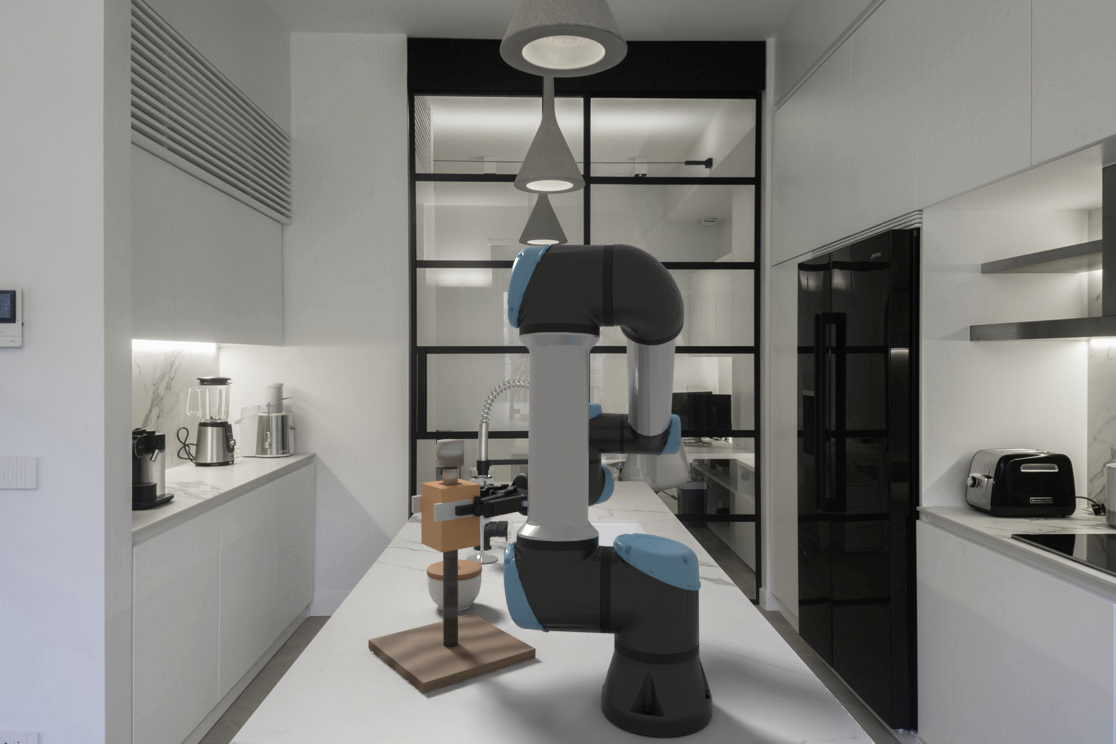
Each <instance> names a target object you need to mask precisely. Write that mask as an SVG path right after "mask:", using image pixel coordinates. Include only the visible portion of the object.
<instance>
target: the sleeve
mask: <svg viewBox="0 0 1116 744" xmlns="http://www.w3.org/2000/svg"><path fill="white" fill-rule="evenodd" d="M420 483H421V484H420V489H421V490H420V491H421V492H420V495H421V512H420V515H421V519H420V522H421V523H420V524H421V526H420V527H421V529H420V530H421V534H420V539H421V542H420V544H422V545H424V546H426V547H428V548H431V549H433V550H435V551H437V552H440V553H443V552H447V551H453V550H458V551H459V550H463V549H468V548H474V547H478V546H480V516H479V517H476V516H474V514H472V517H465V518H459V519H452V520H446V521H440V522H435V521H434V504H437V503H444V502H451V501H458V500H466V499H472V504H474V496H480V484H477V483H473V482H470V480H465V479H463V478H462V479H461V478H458V485H451V486H445V485H443V480H435V481H427V482H420Z"/></svg>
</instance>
